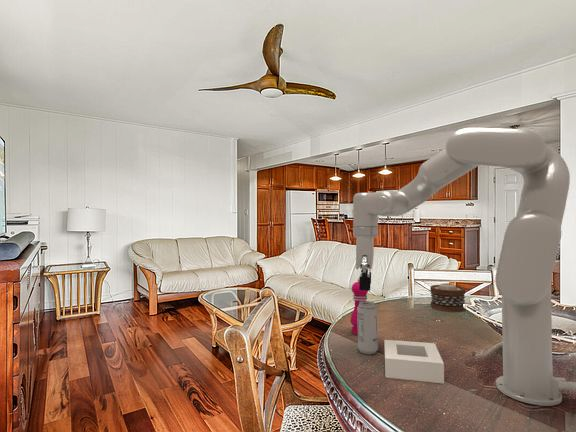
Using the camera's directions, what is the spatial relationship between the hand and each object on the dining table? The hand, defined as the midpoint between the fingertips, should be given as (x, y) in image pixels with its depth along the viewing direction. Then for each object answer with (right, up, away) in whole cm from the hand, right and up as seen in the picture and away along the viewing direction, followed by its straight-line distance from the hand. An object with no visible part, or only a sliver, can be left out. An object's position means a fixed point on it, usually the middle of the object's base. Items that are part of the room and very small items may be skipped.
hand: (365, 286), depth 106 cm
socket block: (+10, -20, -13) cm, 26 cm away
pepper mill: (+2, -20, +17) cm, 26 cm away
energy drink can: (+1, -20, 0) cm, 20 cm away
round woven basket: (+49, -20, +49) cm, 72 cm away
